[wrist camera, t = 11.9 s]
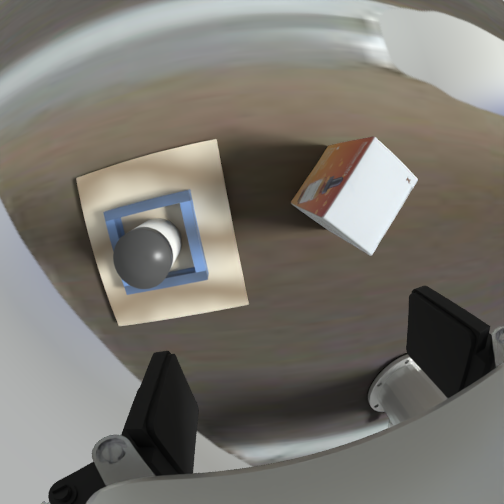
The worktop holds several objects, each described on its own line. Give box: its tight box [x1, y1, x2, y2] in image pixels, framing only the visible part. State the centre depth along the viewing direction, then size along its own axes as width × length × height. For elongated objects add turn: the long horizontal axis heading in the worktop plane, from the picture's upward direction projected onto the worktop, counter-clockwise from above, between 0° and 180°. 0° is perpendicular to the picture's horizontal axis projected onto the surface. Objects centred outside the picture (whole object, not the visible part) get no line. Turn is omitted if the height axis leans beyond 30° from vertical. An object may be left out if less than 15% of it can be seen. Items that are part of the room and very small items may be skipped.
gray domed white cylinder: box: [113, 218, 182, 289], centre depth 25 cm, size 5×5×7 cm
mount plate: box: [76, 139, 249, 326], centre depth 28 cm, size 18×16×3 cm
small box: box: [291, 137, 418, 255], centre depth 25 cm, size 8×6×10 cm
